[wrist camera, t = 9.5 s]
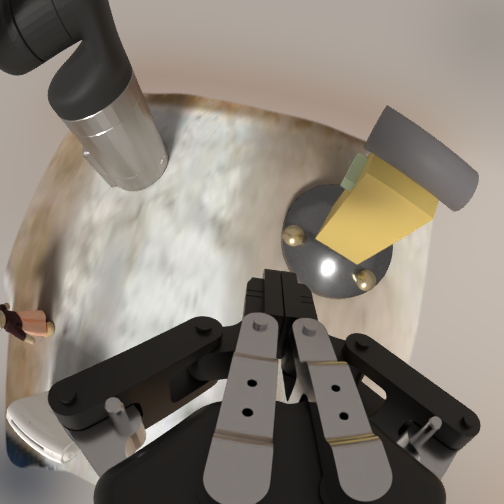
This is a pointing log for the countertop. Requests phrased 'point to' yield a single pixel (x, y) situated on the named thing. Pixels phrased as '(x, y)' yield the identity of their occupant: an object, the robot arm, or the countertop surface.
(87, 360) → the countertop surface
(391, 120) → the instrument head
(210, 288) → the countertop surface
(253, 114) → the countertop surface
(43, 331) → the grandmother figurine
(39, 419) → the photo printer
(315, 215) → the levelling base
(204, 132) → the countertop surface
